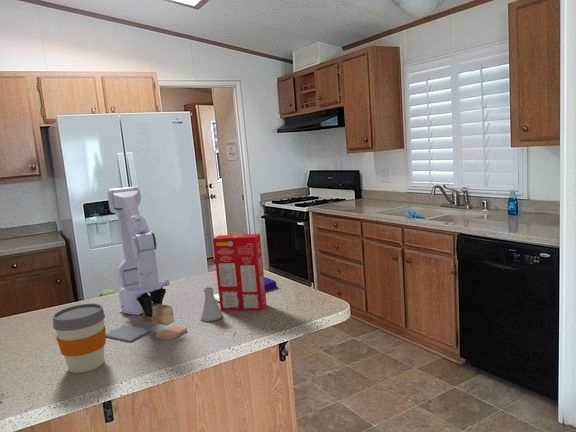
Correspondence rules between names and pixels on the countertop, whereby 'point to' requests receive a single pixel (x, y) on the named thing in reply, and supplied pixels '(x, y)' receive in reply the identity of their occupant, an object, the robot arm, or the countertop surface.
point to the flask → (210, 306)
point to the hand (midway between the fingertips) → (153, 314)
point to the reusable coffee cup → (81, 336)
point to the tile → (171, 332)
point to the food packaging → (240, 272)
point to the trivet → (127, 333)
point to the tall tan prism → (160, 314)
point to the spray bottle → (268, 286)
